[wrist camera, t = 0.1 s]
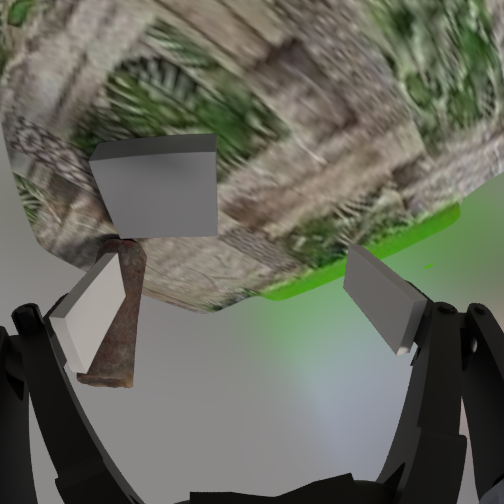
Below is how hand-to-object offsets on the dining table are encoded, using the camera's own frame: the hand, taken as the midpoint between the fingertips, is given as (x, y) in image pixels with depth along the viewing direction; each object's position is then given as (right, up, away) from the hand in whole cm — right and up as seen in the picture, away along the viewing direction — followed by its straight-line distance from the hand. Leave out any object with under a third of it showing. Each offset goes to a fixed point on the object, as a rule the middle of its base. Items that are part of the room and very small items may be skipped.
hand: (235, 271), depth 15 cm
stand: (-9, +9, +14) cm, 18 cm away
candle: (-18, +2, +23) cm, 29 cm away
